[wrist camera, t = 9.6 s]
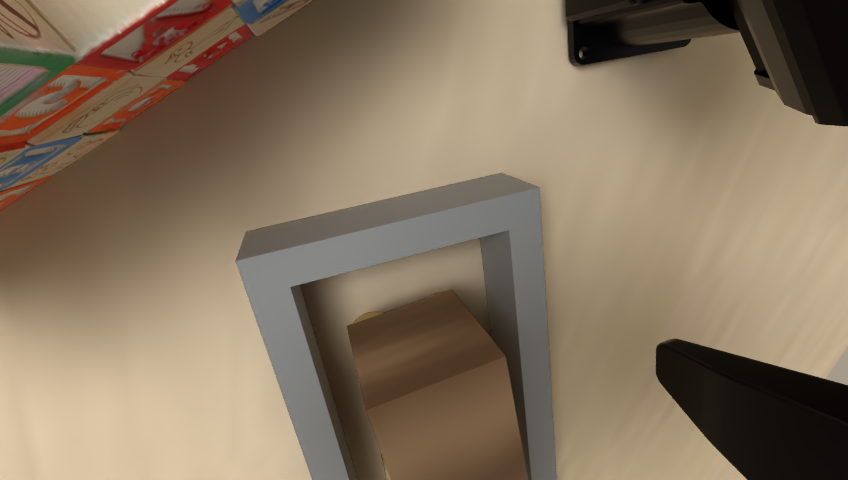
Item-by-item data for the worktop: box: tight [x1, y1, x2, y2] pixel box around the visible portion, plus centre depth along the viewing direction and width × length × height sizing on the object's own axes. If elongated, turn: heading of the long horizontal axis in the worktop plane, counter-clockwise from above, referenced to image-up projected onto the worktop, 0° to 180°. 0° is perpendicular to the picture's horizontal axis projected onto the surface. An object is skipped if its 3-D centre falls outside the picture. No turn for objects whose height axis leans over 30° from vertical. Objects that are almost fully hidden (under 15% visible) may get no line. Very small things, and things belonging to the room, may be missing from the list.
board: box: [347, 290, 528, 480], centre depth 19 cm, size 12×5×6 cm, turn 13°
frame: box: [236, 173, 557, 480], centre depth 22 cm, size 12×21×4 cm, turn 9°
